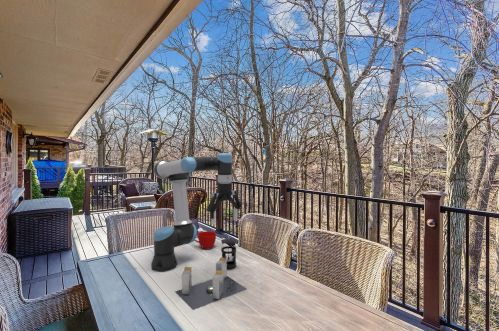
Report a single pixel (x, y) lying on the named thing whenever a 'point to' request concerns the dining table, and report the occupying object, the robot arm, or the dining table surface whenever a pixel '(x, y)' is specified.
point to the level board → (208, 293)
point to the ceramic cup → (206, 239)
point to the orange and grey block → (186, 280)
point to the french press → (231, 244)
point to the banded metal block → (218, 284)
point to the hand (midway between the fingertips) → (224, 222)
